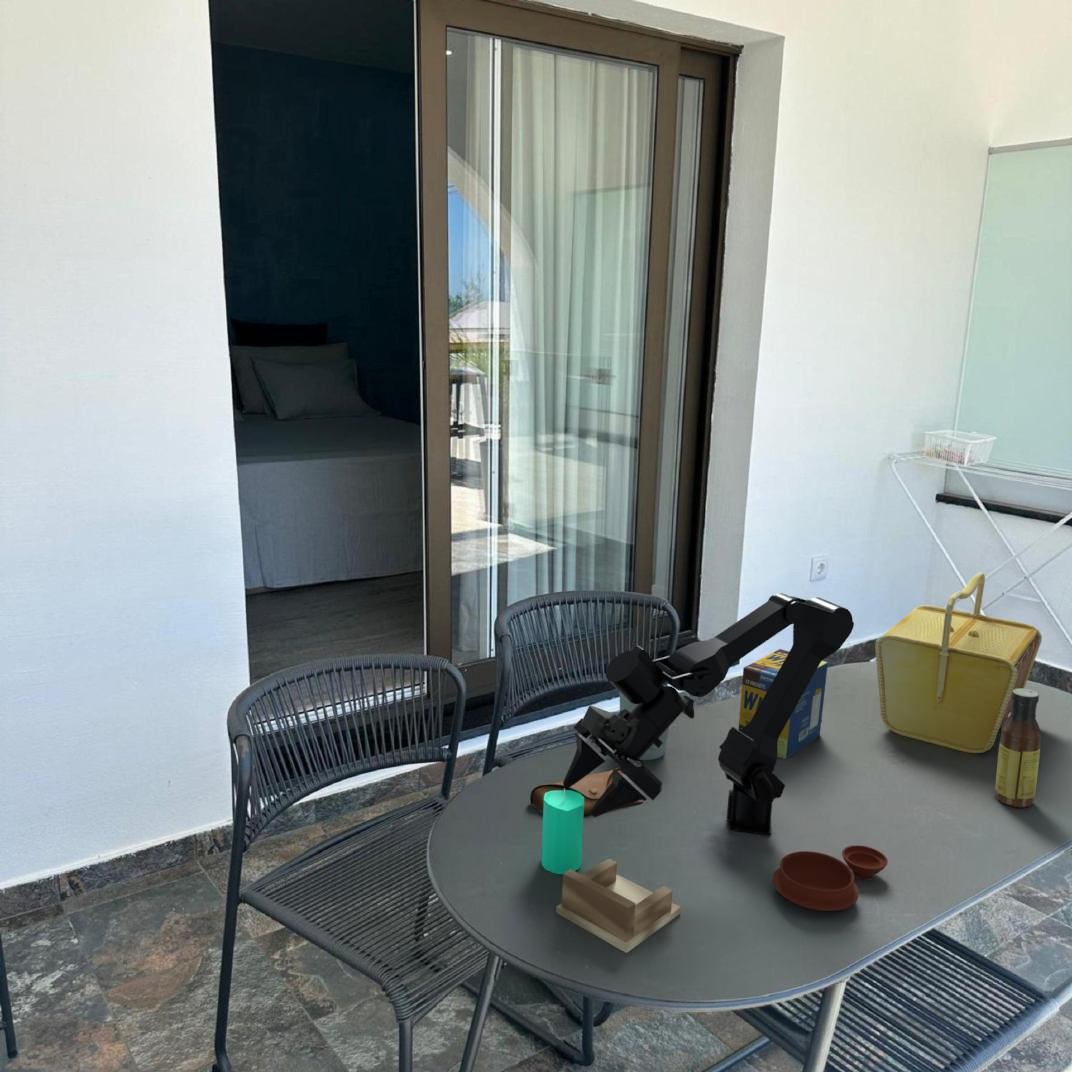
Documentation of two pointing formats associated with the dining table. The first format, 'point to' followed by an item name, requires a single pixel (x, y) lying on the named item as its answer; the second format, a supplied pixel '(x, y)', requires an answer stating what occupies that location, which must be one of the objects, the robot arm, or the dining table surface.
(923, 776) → the dining table surface
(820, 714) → the protein box
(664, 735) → the pale green cup
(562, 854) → the candle
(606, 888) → the dock
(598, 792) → the sunglasses case
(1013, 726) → the sauce bottle
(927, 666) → the picnic basket
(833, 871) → the pottery
